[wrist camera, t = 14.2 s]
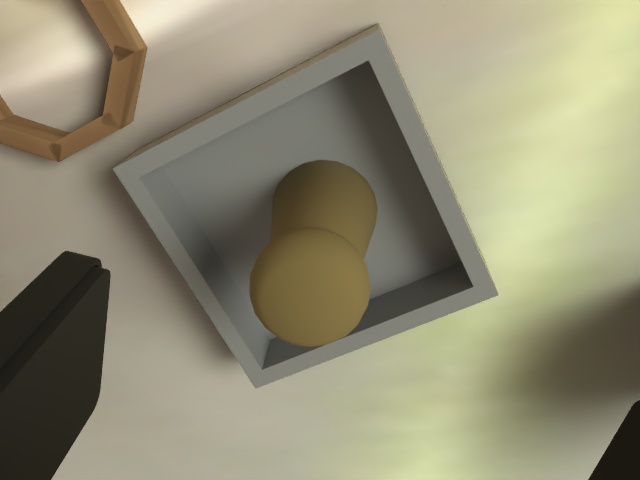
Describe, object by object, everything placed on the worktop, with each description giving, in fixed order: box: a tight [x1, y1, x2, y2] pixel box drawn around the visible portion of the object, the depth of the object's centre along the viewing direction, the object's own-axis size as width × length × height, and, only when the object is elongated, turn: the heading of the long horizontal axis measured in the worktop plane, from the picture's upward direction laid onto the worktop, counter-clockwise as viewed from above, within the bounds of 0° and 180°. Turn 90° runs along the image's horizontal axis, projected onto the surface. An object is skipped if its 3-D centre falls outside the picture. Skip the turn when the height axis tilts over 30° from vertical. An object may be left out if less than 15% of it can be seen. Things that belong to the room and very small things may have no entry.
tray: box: [113, 24, 498, 388], centre depth 34 cm, size 15×15×4 cm
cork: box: [249, 160, 378, 347], centre depth 30 cm, size 6×6×11 cm
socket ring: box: [0, 0, 147, 162], centre depth 32 cm, size 10×10×2 cm
